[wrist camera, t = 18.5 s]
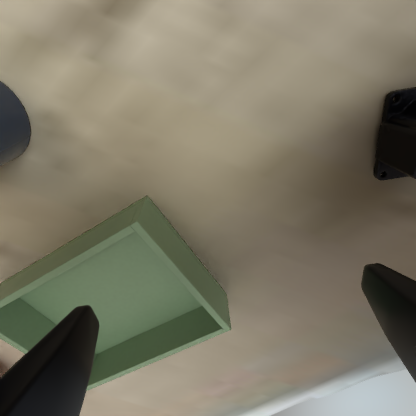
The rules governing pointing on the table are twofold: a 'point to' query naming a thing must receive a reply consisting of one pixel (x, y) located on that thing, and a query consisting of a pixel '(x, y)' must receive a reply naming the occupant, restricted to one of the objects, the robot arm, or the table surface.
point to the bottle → (12, 126)
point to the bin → (119, 293)
